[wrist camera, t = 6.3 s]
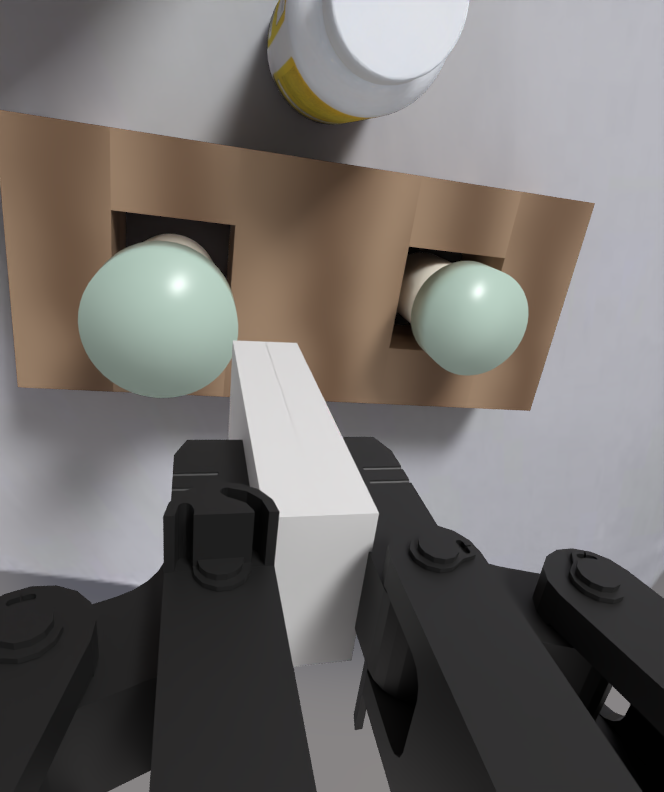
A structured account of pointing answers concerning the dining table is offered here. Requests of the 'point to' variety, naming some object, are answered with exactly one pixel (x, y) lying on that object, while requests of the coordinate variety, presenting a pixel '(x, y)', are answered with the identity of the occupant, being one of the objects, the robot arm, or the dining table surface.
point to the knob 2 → (462, 312)
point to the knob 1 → (159, 318)
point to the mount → (275, 255)
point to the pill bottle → (359, 54)
